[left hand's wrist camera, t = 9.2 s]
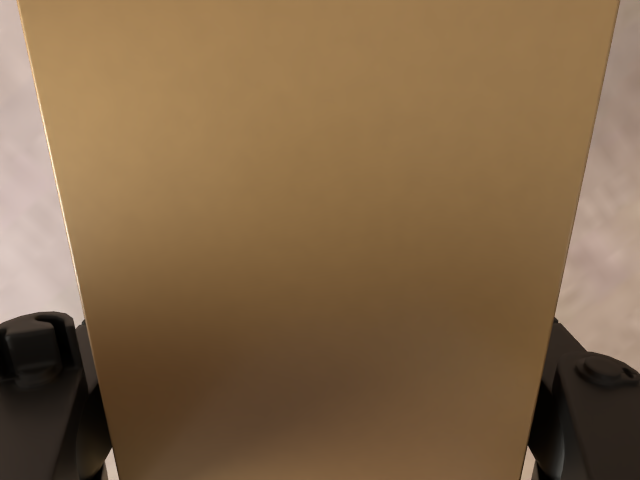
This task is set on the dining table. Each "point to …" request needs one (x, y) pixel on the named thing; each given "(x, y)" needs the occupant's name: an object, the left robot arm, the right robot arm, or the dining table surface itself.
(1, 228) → the dining table surface
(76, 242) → the bar
